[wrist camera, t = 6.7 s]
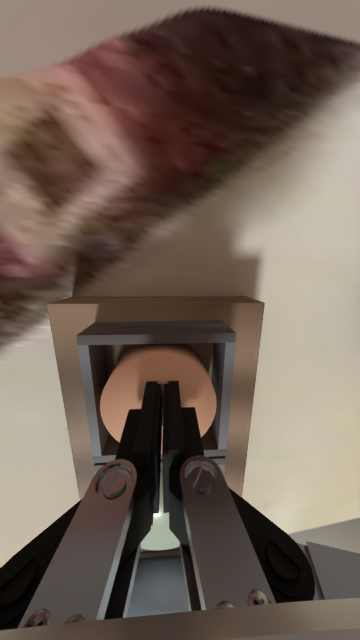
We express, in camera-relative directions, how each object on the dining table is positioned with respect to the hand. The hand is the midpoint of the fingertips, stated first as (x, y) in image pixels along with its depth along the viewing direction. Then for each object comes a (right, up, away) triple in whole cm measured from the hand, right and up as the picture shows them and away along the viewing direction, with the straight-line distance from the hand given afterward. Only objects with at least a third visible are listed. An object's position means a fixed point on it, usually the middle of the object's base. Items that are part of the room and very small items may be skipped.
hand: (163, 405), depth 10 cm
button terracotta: (0, 0, +2) cm, 3 cm away
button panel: (-1, -6, +8) cm, 10 cm away
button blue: (0, -15, +5) cm, 16 cm away
